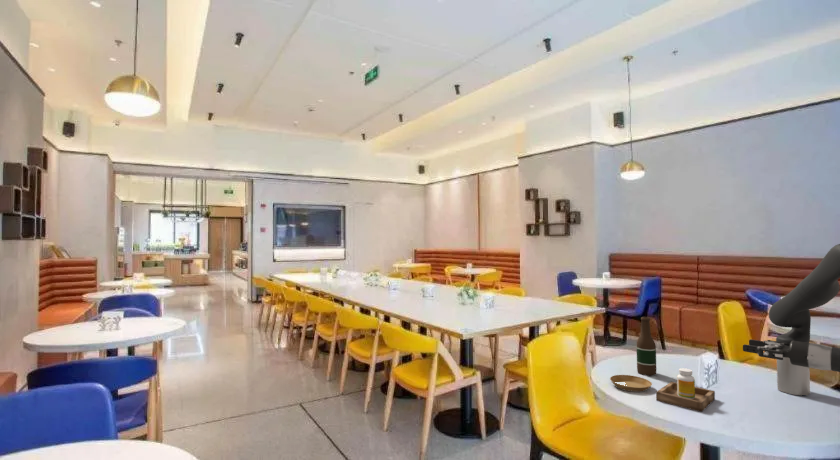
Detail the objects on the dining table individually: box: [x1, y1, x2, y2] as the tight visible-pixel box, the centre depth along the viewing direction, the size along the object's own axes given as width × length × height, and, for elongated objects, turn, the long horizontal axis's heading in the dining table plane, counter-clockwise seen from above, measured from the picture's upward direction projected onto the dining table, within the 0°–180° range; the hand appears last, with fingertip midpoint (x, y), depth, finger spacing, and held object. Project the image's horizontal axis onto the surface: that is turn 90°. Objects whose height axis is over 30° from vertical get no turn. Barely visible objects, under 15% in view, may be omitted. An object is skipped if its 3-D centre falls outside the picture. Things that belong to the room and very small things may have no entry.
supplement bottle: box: [676, 367, 696, 399], centre depth 152 cm, size 5×5×10 cm
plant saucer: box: [609, 374, 653, 393], centre depth 166 cm, size 15×15×3 cm
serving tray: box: [655, 381, 716, 413], centre depth 152 cm, size 16×14×3 cm
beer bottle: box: [636, 316, 657, 377], centre depth 183 cm, size 8×8×24 cm
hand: (746, 345), depth 143 cm, fingers open, 8 cm apart
